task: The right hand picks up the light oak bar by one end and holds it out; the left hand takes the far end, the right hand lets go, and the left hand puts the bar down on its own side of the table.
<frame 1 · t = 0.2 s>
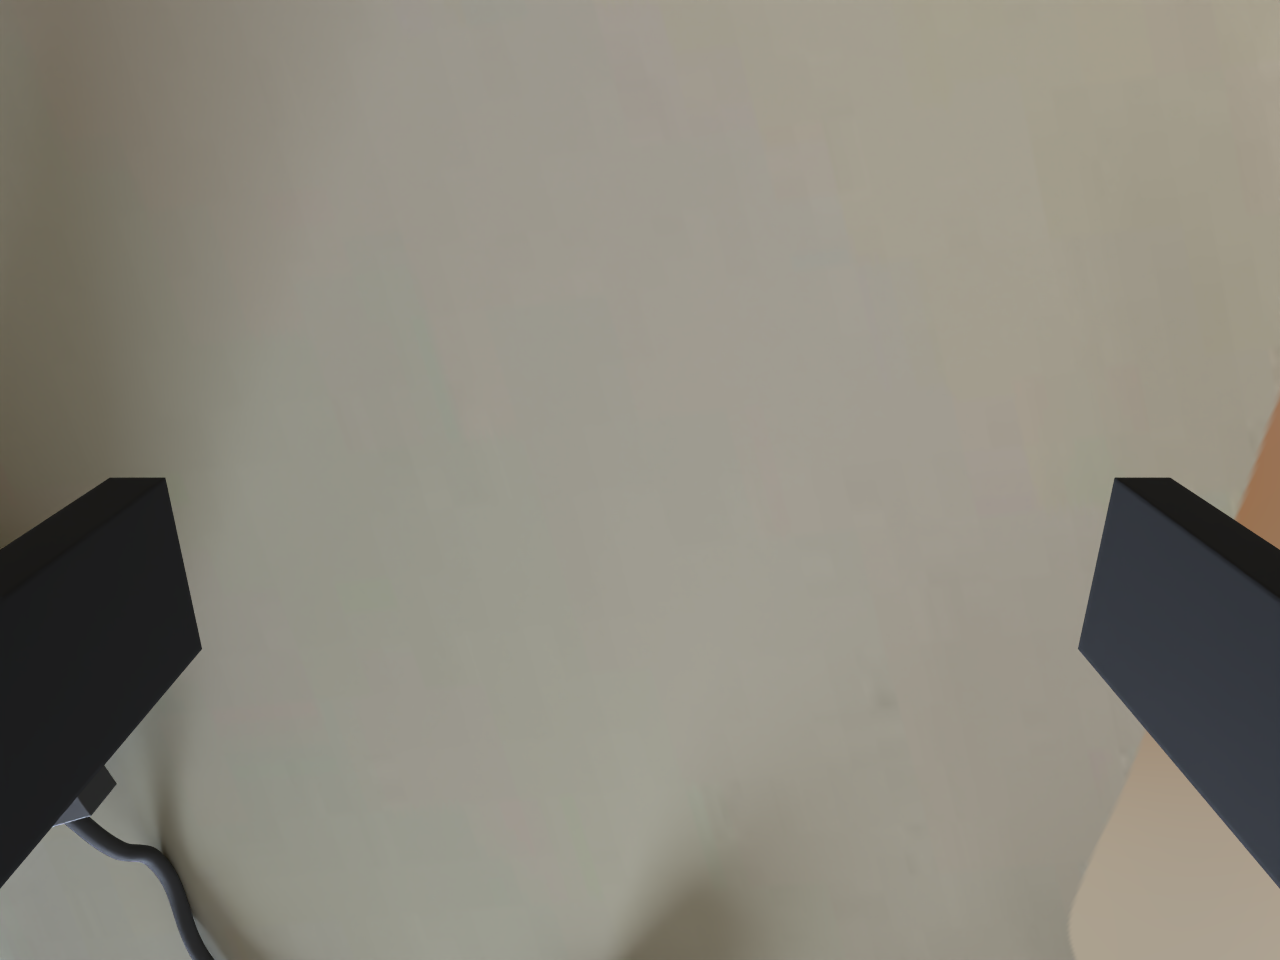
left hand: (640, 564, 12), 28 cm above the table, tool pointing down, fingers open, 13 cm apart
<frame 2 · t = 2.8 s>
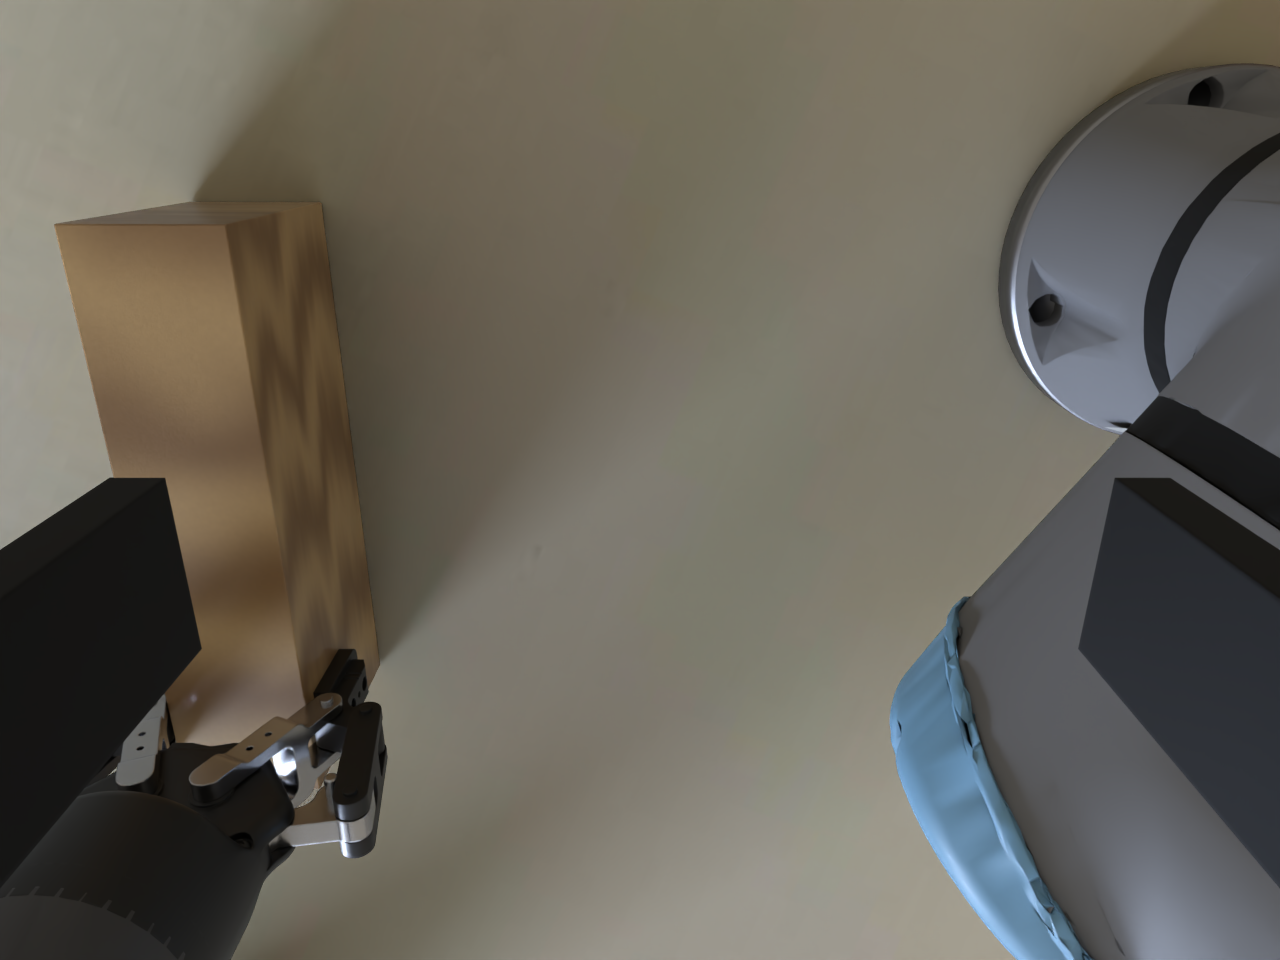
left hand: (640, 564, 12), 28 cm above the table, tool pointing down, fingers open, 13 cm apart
right hand: (282, 665, 40), fingers closed on bar, 5 cm apart
bar: (294, 457, 42), on the table, touching right hand
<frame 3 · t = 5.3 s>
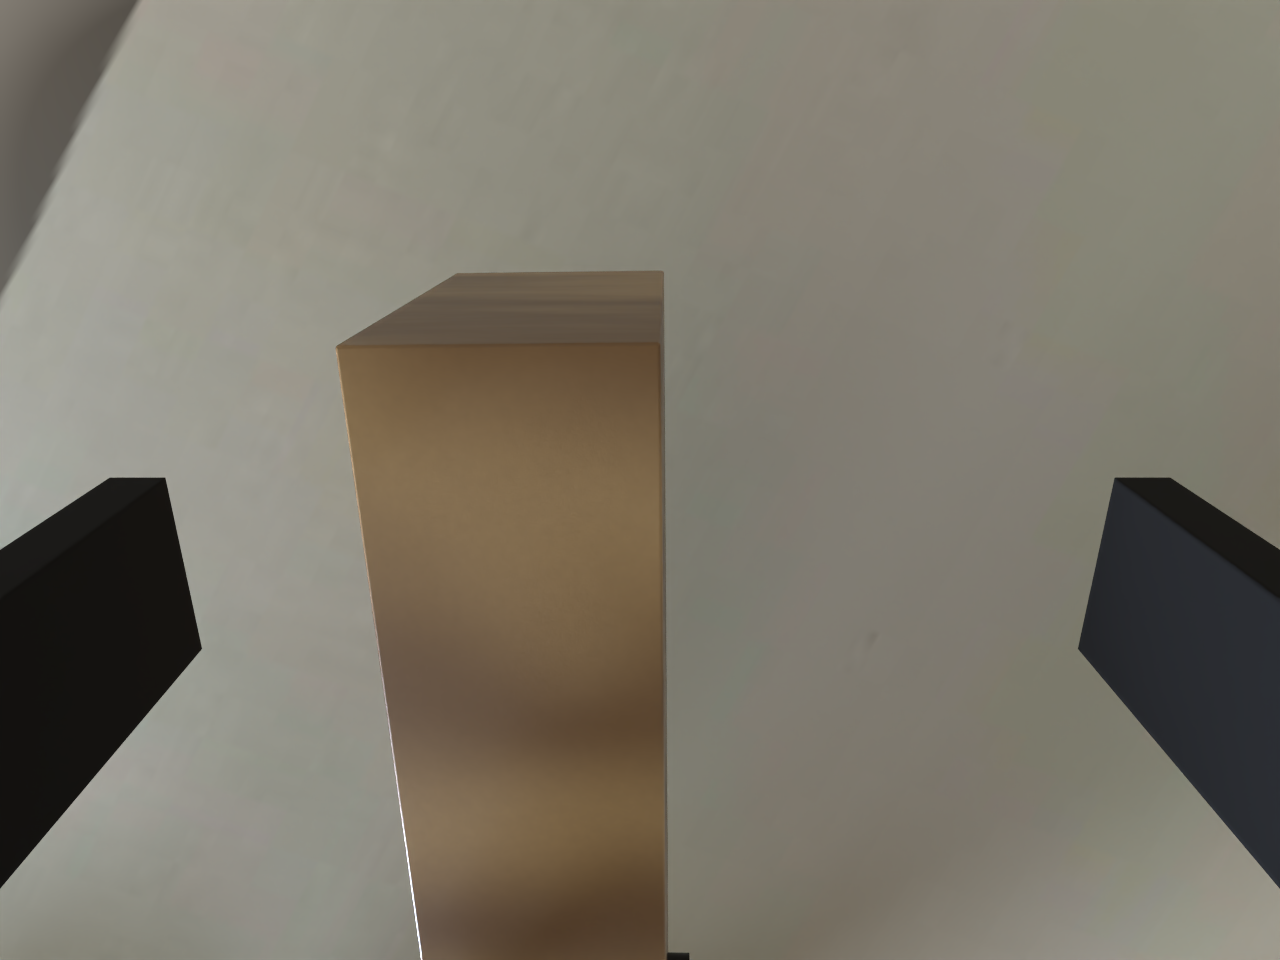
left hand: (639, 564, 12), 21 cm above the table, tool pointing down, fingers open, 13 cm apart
bar: (577, 643, 28), point 8 cm above the table, touching right hand
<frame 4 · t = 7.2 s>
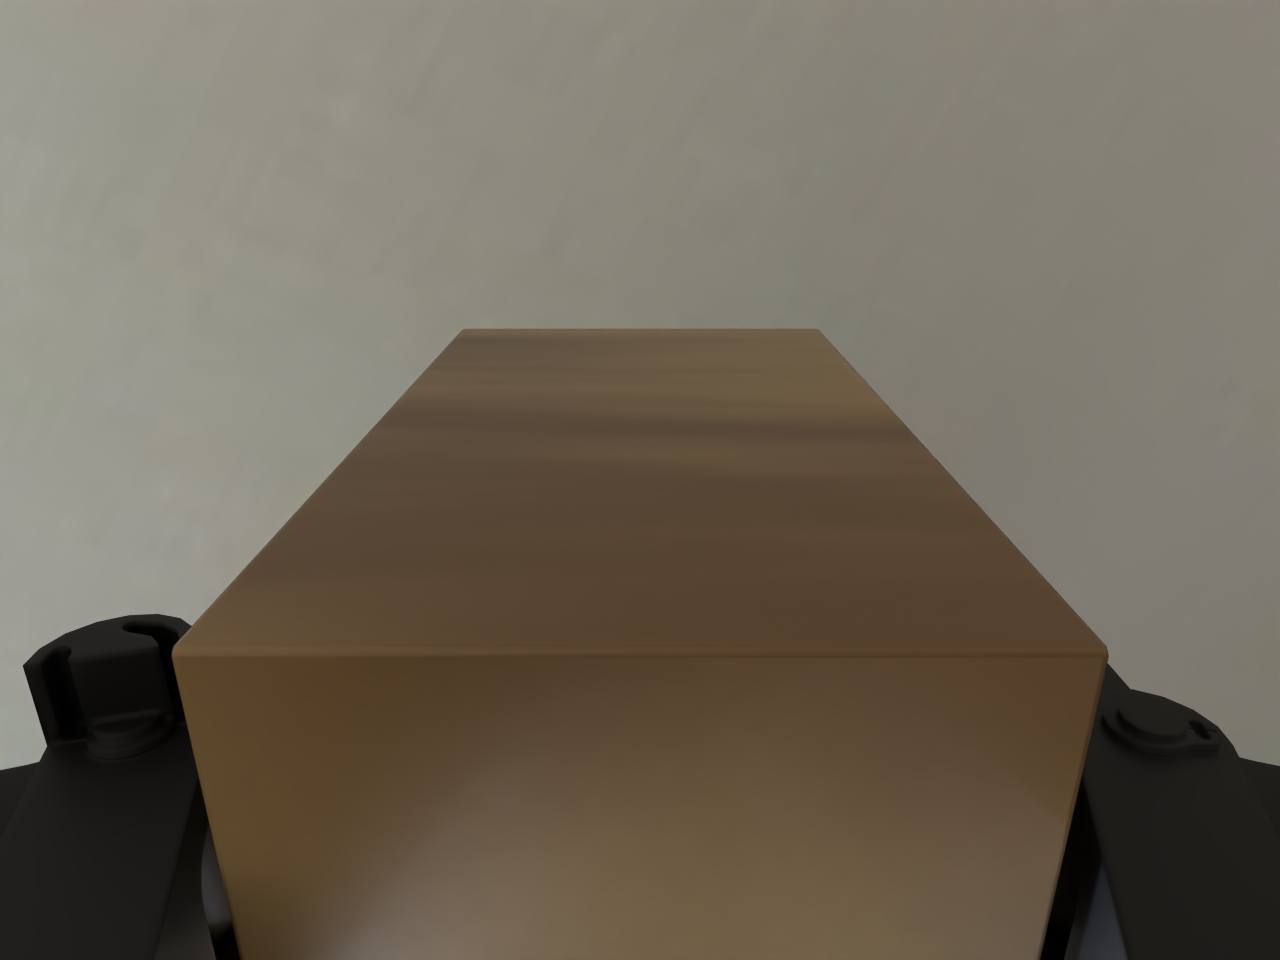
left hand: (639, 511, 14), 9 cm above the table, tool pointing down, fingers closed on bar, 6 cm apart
bar: (640, 886, 18), point 8 cm above the table, touching left hand, right hand
when the right hand's fingers open (13 cm above the table, at t = 8.1 s): bar stays where it is, held by the left hand.
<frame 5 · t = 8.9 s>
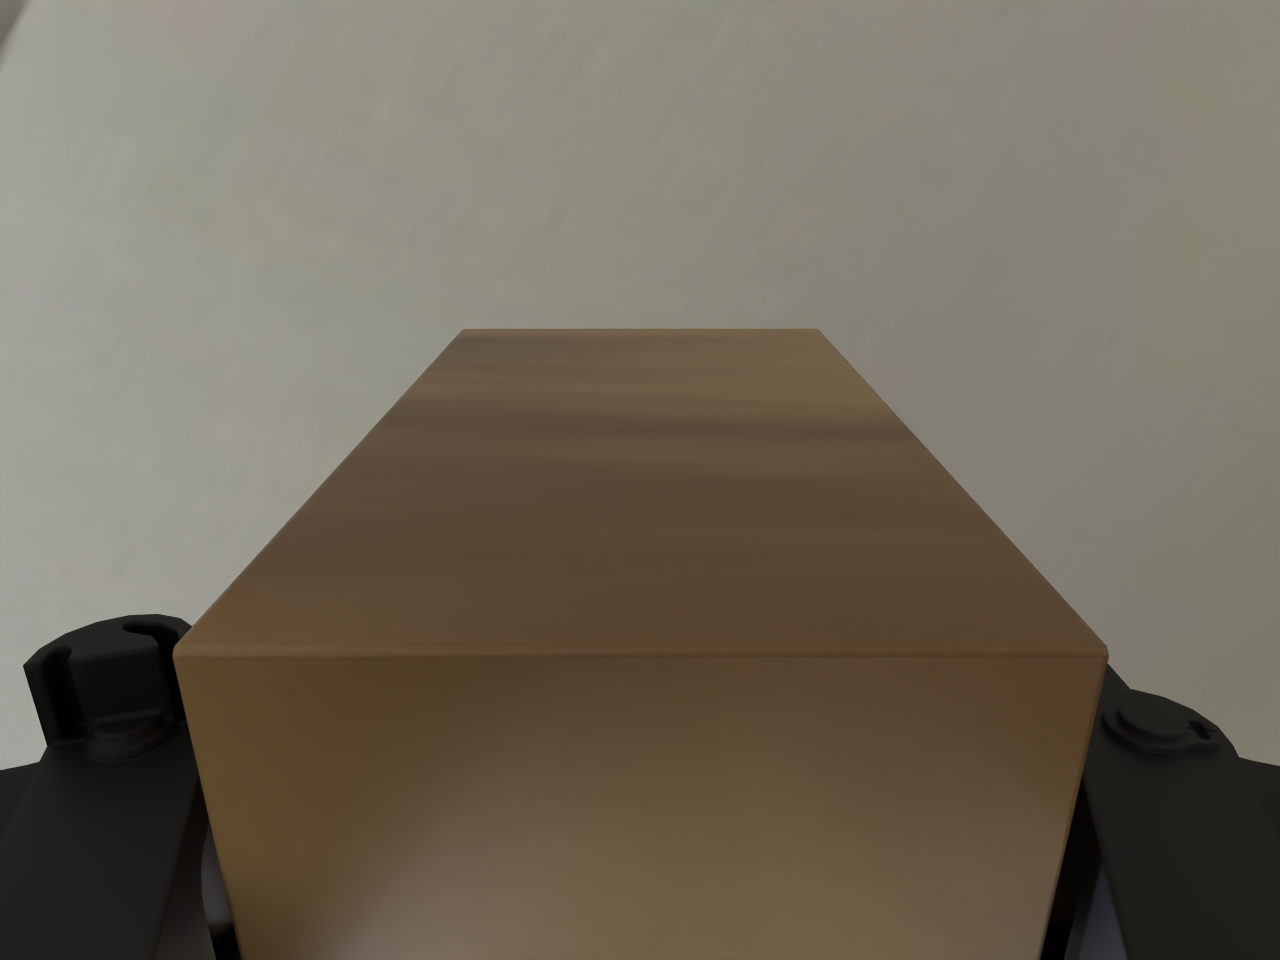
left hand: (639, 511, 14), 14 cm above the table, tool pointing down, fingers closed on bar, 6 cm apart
bar: (640, 886, 18), point 13 cm above the table, touching left hand
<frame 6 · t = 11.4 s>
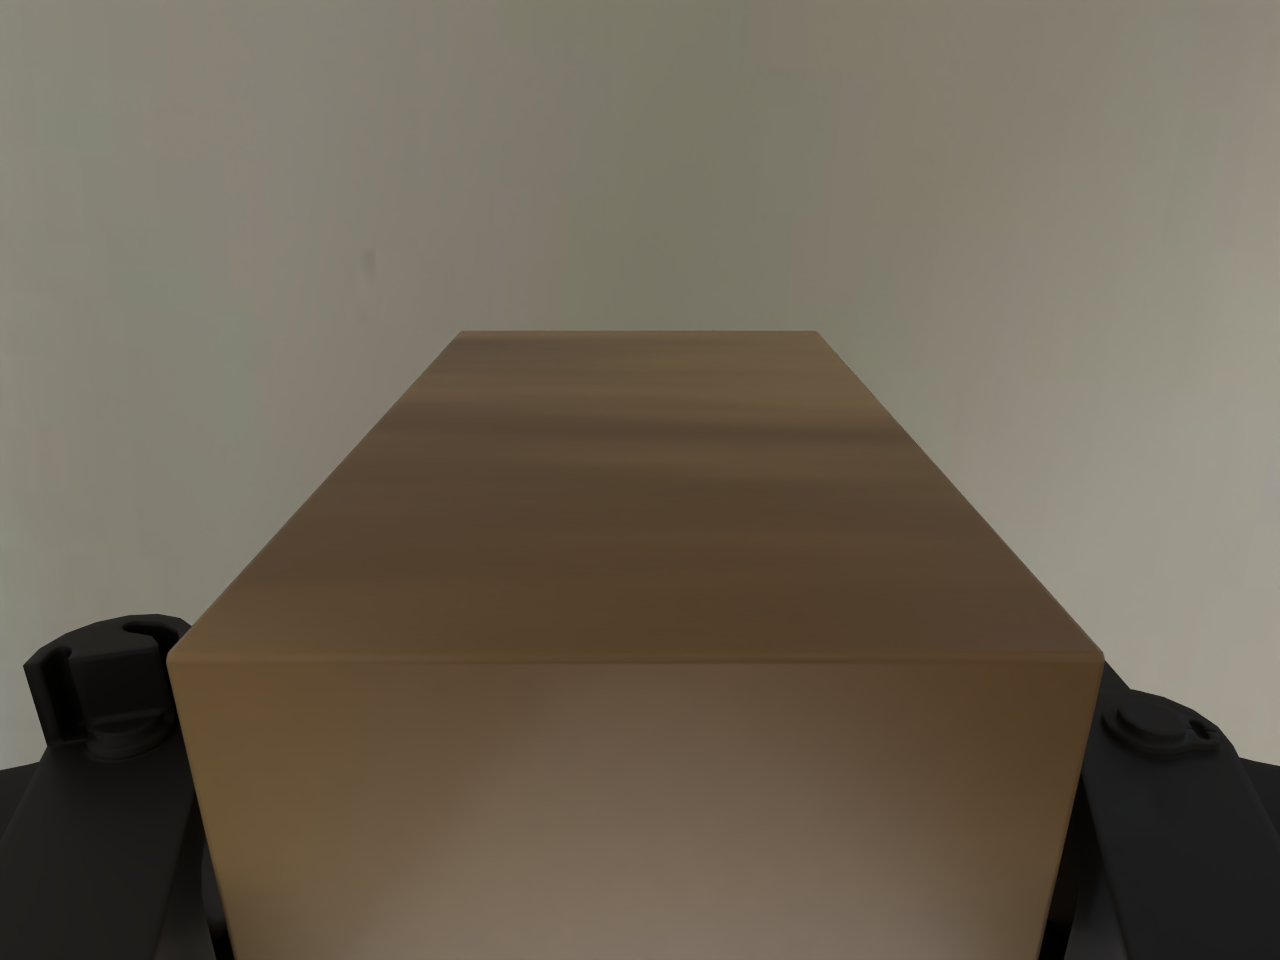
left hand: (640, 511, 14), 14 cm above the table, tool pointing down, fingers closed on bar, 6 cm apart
bar: (639, 888, 18), point 14 cm above the table, touching left hand
when the left hand's fingers open (2 cm above the table, at t = 15.9 s): bar drops 2 cm, on the table.
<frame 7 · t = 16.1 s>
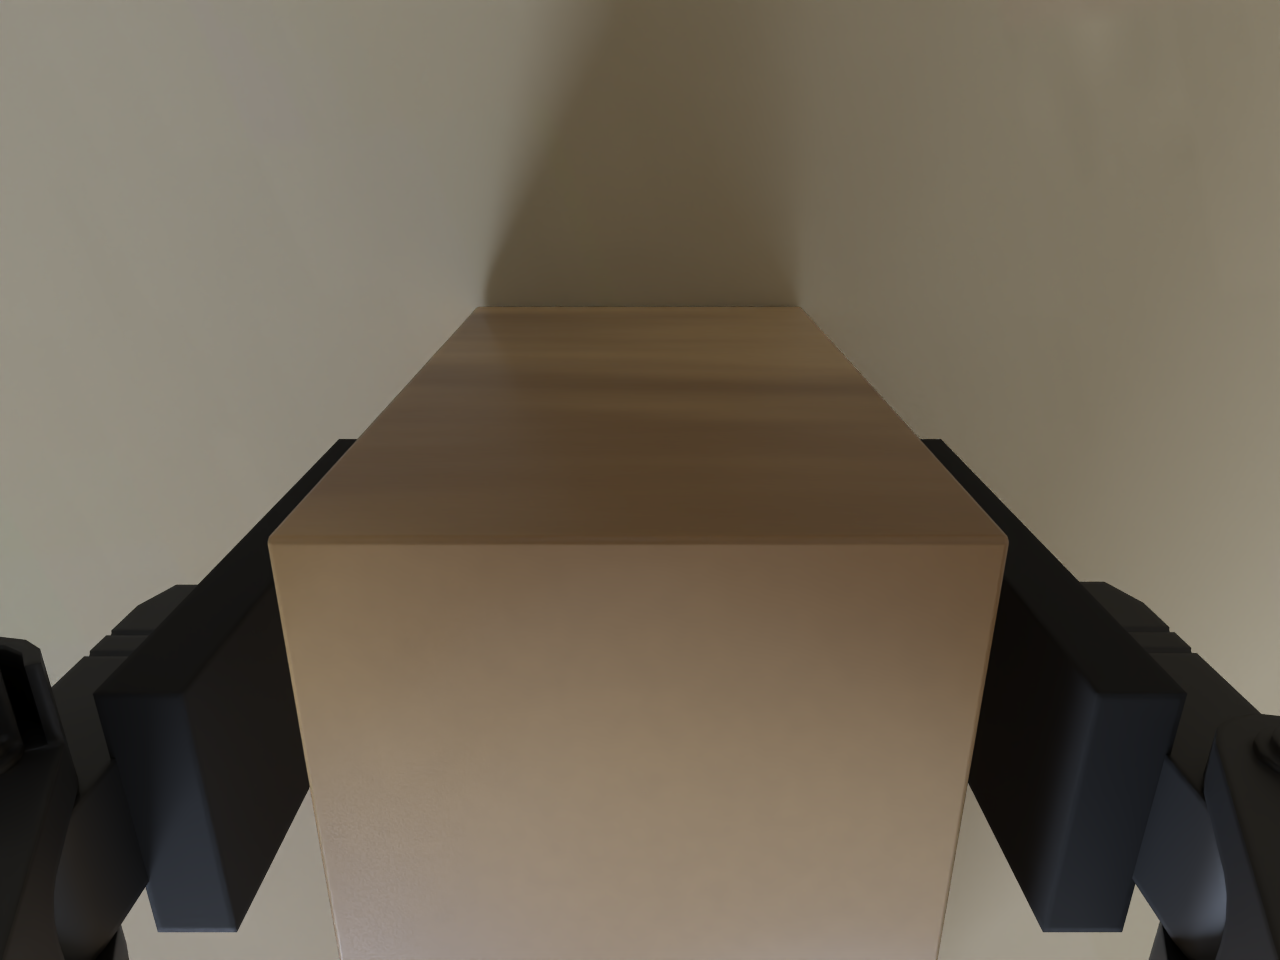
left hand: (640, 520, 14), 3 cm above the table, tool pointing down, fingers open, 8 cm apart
bar: (639, 827, 20), on the table
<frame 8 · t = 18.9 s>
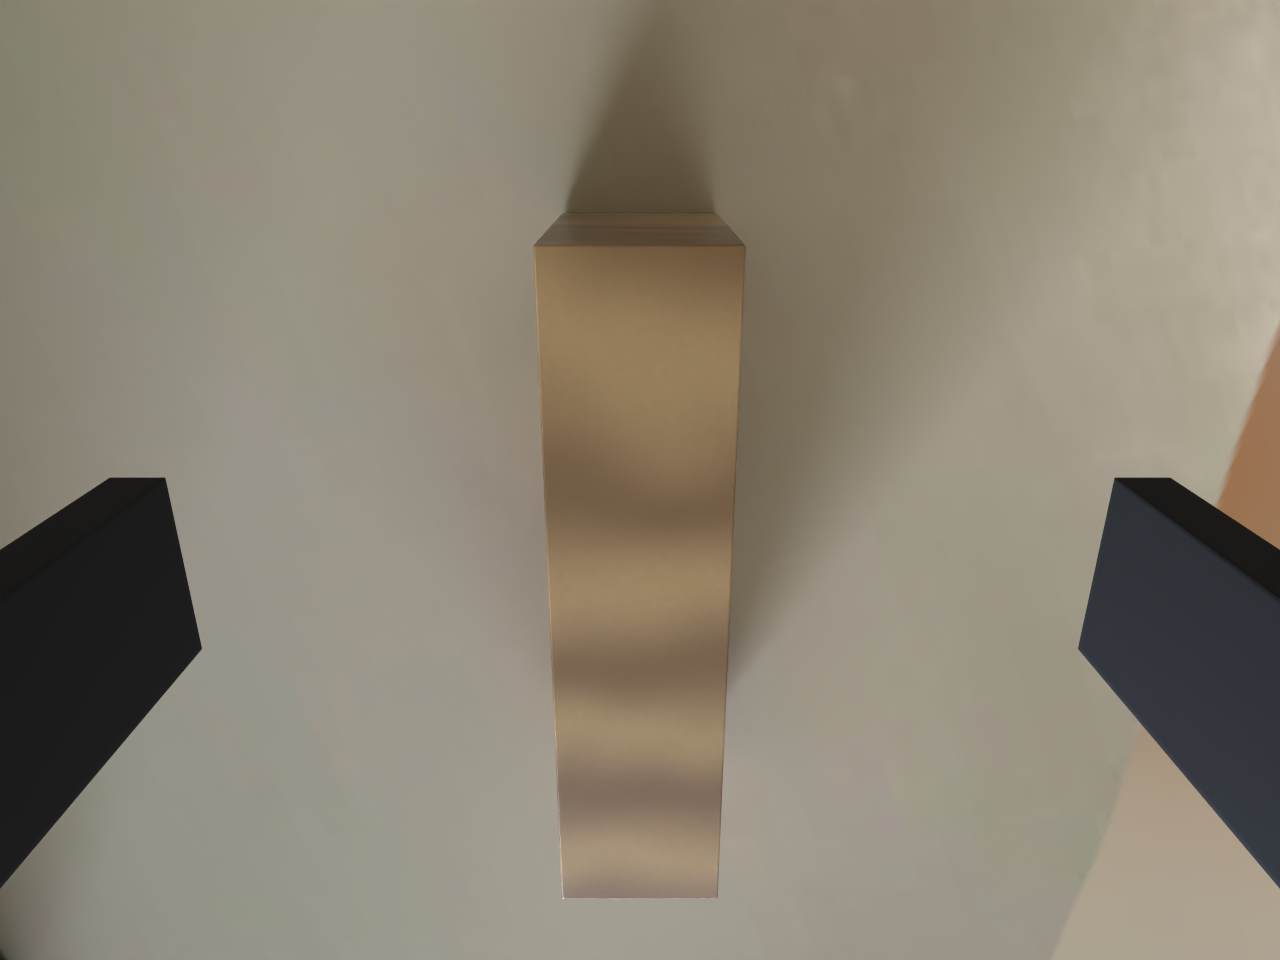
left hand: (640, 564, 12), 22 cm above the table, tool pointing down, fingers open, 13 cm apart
bar: (639, 504, 36), on the table
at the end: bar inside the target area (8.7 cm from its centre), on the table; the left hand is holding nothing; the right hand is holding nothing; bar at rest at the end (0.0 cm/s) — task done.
